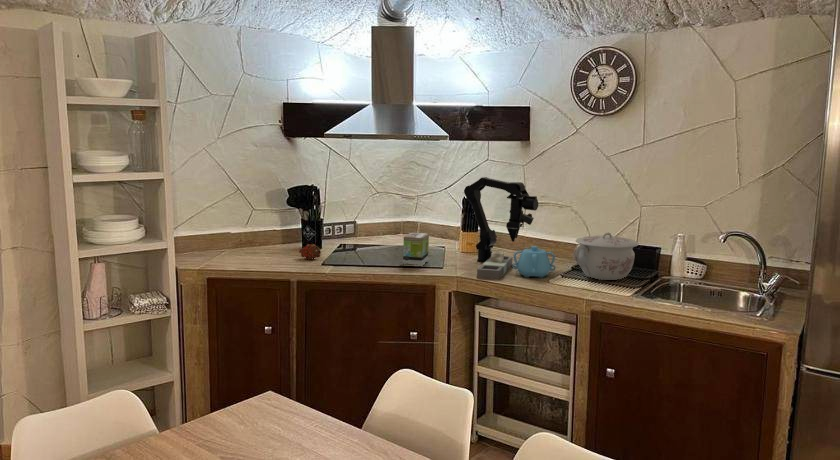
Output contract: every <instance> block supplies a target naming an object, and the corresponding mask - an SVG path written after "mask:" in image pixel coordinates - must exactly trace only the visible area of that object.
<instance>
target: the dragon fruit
mask: <svg viewBox="0 0 840 460" xmlns="http://www.w3.org/2000/svg"><path fill="white" fill-rule="evenodd" d="M298 253H300V256H301V257H302V258H305V257H306V258H305V259H306V260H307V259H309V258H311V259H309V260H312V258H318V259H319V258H320V257H321V254H322V252H321V249H320V247H318V246H317V245H316V244H314V243H312V244H309V243H307V245H306V246H303V248H300V249H299V251H298Z"/></svg>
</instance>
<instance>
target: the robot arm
mask: <svg viewBox="0 0 840 460" xmlns="http://www.w3.org/2000/svg"><path fill="white" fill-rule="evenodd" d="M485 187H489V188H494V189H499V190H503V191H505V192H507V193H508V194H509V195H508V196H506V199H510V207H509V208H510V210H509V219H508V221H507V222H506V224H505V225H506V227H505V228H506V229H507V232H508V235H509V237H510V241H511V242H515V239H518V235H519V231H520V229H521V227H523V226H524V223H526V224H527V225H529V226H531V225H532V223H533V221H534V217H533V214H532V213H527V214H525V213H524V210H528V211H535V212H536V211H537V210H538V208H539V201H538V200H539V199H538V196H536V195H534V196H533V195H529V193H528V191H527V190H526V186H525V184H524V183H523V182H521V181H520V182H519V181H516V182H515V181H513V182H509V181H503V180H499V179H494V178H490V177H487V176H486V177H485V176H484V177H483V176H482V177H480V178H479V179H478V180H476V181H475V182H473V183H471V184H469V185H467V186H465V188H464V190H463V194H464V196H465V197H466V199H467V201H469V203H470V204H471V207H472V210H473V212H474V213H473V214H474V216H475V219H476V222H477V224H478V228H479V240H480V241H479V242H477V243H476V245H475V247H476V250H477V260H476V262H483V263H485V262H486V261H487V260H488V259H489V258H490V257H491V253H492V252H493V251H492V249H493V247H494V245H495V244H496V243H497V238H498V236H497V234H496V230H495V229H491V228H490V226H489V223H488V222H489V221H488V220H487V216H486V214H485V211H484V208H483V204H482V201H481V200H482V193H481V192H482V190H484V188H485Z"/></svg>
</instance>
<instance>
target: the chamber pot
mask: <svg viewBox="0 0 840 460" xmlns="http://www.w3.org/2000/svg"><path fill="white" fill-rule="evenodd" d="M575 243H577V244H578V245H577V246H575V248H574V251H573V258H574V260H575V262H576V263H577V265H579V266H580V268H581V270H582V272H583V273H584V275H585V276H586V277H588V278H590V277H591V279H592V278H595V279H602V280H616V279H621V280H623V279H625V278H627V276H629V273H630V272H631V271H632V269H633V266H634V262H635V252H634V250H633V248H635V247H637V246H639V242H638V241H636V240H633V239H630V238H627V237H623V236H622V237H621V236H614V235H612V234H611V233H610V232H605V233H604V234H603V235H589V236H588V235H587V236H582V237H579V238H577V239H576V240H575ZM624 277H625V278H624ZM622 278H623V279H622ZM595 279H594V280H595Z"/></svg>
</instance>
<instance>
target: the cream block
mask: <svg viewBox="0 0 840 460" xmlns="http://www.w3.org/2000/svg"><path fill="white" fill-rule="evenodd" d="M504 253H505V252H503V251H492V253H491V262H502V261H503V260H504V256H505V255H504Z"/></svg>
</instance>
